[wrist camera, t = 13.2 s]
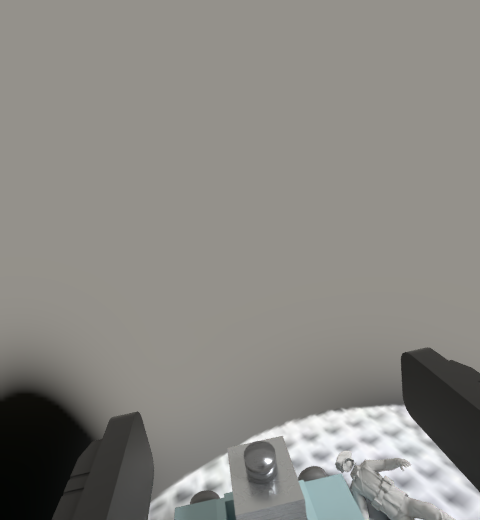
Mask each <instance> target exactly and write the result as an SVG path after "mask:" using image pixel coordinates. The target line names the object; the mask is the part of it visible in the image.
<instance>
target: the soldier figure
mask: <svg viewBox="0 0 480 520" xmlns="http://www.w3.org/2000/svg"><path fill="white" fill-rule="evenodd" d="M351 454H352V451H343V452H341V453H340V454H339V456H338V458H337V461H336V464H335V465H336V468H337V469H338V470H339V471H341V472H342V473H343V472H344V471H345V472H349V471H350V470H351V469H352V467H353V465H355V464H356V463H355V464H354V460H353V459H352V458H351ZM406 463H407V464H408V465H409V466H410V465H411V464H410V463H409V462H408V461H407V460H405V459H400V458H394V459H385V460H364V462H363V463H361V465H360V466H358V465H355V466H354V468H353V471H352V472H351V474H350V475H351V477H352V479H353V481H352V483H351V487H350V488H351V490H352V493H353V496H354V498H355V502H356V504H357V505H358V507H359V509H360V511H361V513H362V515H363V517H364V519H365V520H369V514H368V509H367V504H366V499H365V497H366V498H367V499H369V500H370V501H372V502H371V503H370V504H371V505H372V506H373V507H374V508H375V509H376V510H377V511H379V510H381V512H383V513H385V514H386V515H387V516H388V517H389V519H390V520H415V519H414V518H419V519H423V520H455V519H454V518H452V517H451V516H449V515H448V514H447V513H445V512H444V511H443V510H441V509H438V508H436V507H435V506H434V505H433V504H431V503H427V502H422V501H419V500H416V499H412V498H409V497H408V495H407V494H406V493H405V492H403V491H401V490H400V489H399V488H397V487H395V486H394V481H392V480H391V479H389V478H388V477H386V476H385V477H384V478H382V476H381V475H380V474H379V473H378V472H381V471H385V470H388V471H389V470H394V469H396V468H398V467H399V466H400V468H401V469H402V470H403V471H404V469H403V468H402V466H404V467H406V466H407V467H409V466H408V465H407V464H406Z"/></svg>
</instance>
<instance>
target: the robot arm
mask: <svg viewBox="0 0 480 520" xmlns="http://www.w3.org/2000/svg"><path fill="white" fill-rule="evenodd" d="M401 371H402V391H403V400H404V403H405V406H406V409H407V411H408V412H409V414H410V416H411V417H412V418H413V419H414V421H415V422H416V423H417V424H418V425H419V426H420V427H421V428H422V429H423V430H424V431H425V433H426V434H427V435H428V436H429V437H430V438H431V439H432V440H433V441H434V442H435V444H436V445H437V446H438V447H439V448H440V449H441V450H442V451H443V452H444V453H445V454H446V456H447V457H448V458H449V459H450V460H451V461H452V462H453V463H454V464H455V465H456V467H457V468H458V469H459V470H460V471H461V472H462V473H463V474H464V475H465V476H466V477H467V479H468V480H469V481H470V482H471V483H472V484H473V485H474V486H475V487H476V488H477V489H478V491H479V492H480V373H479V372H477V371H476V370H474V369H473V368H471V367H468V366H466V365H463V364H460V363H458V362H455V361H453V360H450V361H448V360H446V359H445V358H444V357H442V356H441V355H440V354H438V353H437V352H435V351H434V350H433V349H431V348H423V349H418V350H414V351H409V352H405V353H403V354H402V356H401ZM153 479H154V465H153V457H152V452H151V449H150V445H149V442H148V438H147V435H146V431H145V428H144V424H143V420H142V417H141V415H140V413H139V412H134V413H129V414H125V415H121V416H116V417H112V418H111V419H110V420H109V423H108V425H107V428H106V431H105V434H104V436H103V439H101V440H96V441H93V442H92V443H91V444H90V445H89V446H88V448H87V449H86V450H85V451H84V452H83V453H82V455H81V456H80V457H79V458H78V460H77V463H76V465H75V467H74V470H73V472H72V474H71V480H69V481H68V483H67V486H66V488H65V491H64V496H62V497H61V500H60V502H59V504H58V507H57V509H56V511H55V513H54V516H53V518H52V520H148V513H149V507H150V500H151V493H152V486H153Z"/></svg>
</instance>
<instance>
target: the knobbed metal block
mask: <svg viewBox="0 0 480 520" xmlns="http://www.w3.org/2000/svg"><path fill="white" fill-rule="evenodd" d="M228 457H229V465H230V473H231V482H232V490H233V498H234V507H235V515H236V520H307V514H306V506H305V498H304V496H303V493H302V490H301V487H300V484H299V481H298V478H297V476H296V473H295V470H294V467H293V464H292V461H291V459H290V456H289V453H288V450H287V447H286V444H285V441H284V439H283V436H280V437H276V438H271V439H266V440H262V441H256V442H253V443H248V444H243V445H239V446H234V447H230V448H228Z"/></svg>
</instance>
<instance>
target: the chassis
mask: <svg viewBox="0 0 480 520" xmlns="http://www.w3.org/2000/svg"><path fill="white" fill-rule="evenodd" d="M298 481H299V484H300V487H301V490H302V493H303V496H304V498H305V506H306V514H307V520H365V519H364V517H363V515H362V513H361V511H360V509H359V507H358V505H357V504H356V502H355V500H354V498H353V496H352V494H351V492H350V490H349V488H348V486H347V484H346V482H345V480H344V478H343V476H342V474H337V475H333V476H329V477H327V475H326V473H325V471H324V470H323V469H322V468H320V467H317V466H312V467H308V468H306V469H305V470H303V471H302V472H301V473H300V475H299V477H298ZM224 497H225V498H221V499H220V497H219V496H218V495H217V494H216V493H215V492H213V491H201V492H199V493H197V494H196V495H194V496H193V498H192V499H191V502H190V505H186V506H182V507H177V508H175V518H174V520H236V515H235V507H234V498H233V492H230V493H226V494H224Z"/></svg>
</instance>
